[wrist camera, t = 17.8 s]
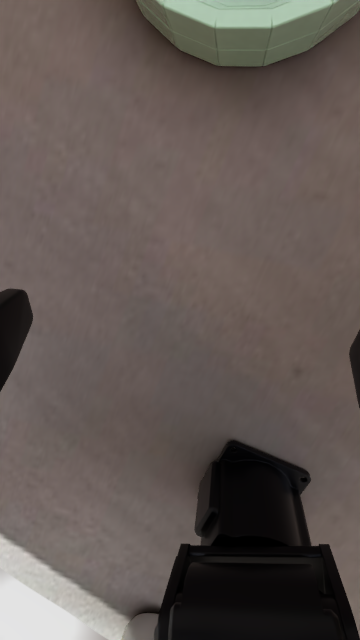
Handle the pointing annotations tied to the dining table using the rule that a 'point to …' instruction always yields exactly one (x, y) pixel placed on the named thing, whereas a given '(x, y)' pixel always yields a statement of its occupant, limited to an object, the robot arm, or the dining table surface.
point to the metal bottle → (141, 627)
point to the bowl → (246, 27)
